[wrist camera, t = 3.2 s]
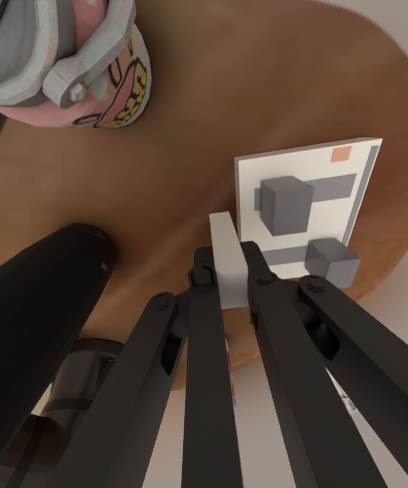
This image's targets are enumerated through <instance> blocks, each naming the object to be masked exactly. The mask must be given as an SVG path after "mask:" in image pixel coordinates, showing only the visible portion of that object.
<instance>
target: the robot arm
mask: <svg viewBox="0 0 408 488" xmlns="http://www.w3.org/2000/svg"><path fill="white" fill-rule="evenodd" d="M209 218H210V227H211V236H212V245H213V246H210V247H202V248H197V250H196V251H195V253H194V267H193V268H192V269H191V270H190V271H189V272H188V279H189V283H190V288H189V289H188V290H187V291H185V292H183V293H181V294H178V295H176V296H174V295H173V294H172V293H169V292H162V293H159V294H156V295H155V296H154V297H152V298H151V300H150V301H149V302H148V304H147V306H146V307H145V309H144V311H143V313H142V315H141V316H140V318H139V320H138V322H137V324H136V325H135V327H134V329H133V331H132V333H131V334H130V336H129V338H128V340H127V342H126V343H125V345H121V344H118V343H115V342H111V341H107V340H98V339H90V340H81V341H77V342H74V344H73V345H72V347H71V349H70V351H69V352H68V354H67V356H66V358H65V359H64V361H63V363H62V365H61V366H60V368H59V370H58V372H57V373H56V375H55V377H54V380H53V384H52V388H51V392H50V396H49V399H48V401H47V403H46V405H45V406H44V408H43V410H42V412H41V414H40V416H37V415H34V414H30V415H29V416H28V418H27V419H26V421H25V422H24V424H23V426H22V427H21V429H20V430H19V432H18V433H17V435H16V436H15V438H14V439H13V441H12V442H11V444H10V445H9V447H8V448H7V450H6V451H5V453H4V454H3V456H2V457H1V459H0V488H142V485H143V482H144V478H145V475H146V471H147V468H148V465H149V462H150V458H151V455H152V452H153V448H154V445H155V441H156V438H157V434H158V431H159V428H160V425H161V421H162V418H163V414H164V411H165V408H166V404H167V401H168V398H169V394H170V391H171V388H172V384H173V381H174V378H175V374H176V371H177V368H178V364H179V361H180V357H181V354H182V351H183V347H184V344H185V341H186V337H187V336H188V356H187V377H186V399H185V419H184V440H183V441H184V442H183V462H182V482H181V488H244V485H243V477H242V469H241V462H240V453H239V447H238V438H237V429H236V421H235V413H234V405H233V397H232V389H231V381H230V373H229V365H228V357H227V349H226V341H225V333H224V325H223V317H222V310H221V309H228V308H237V307H246V306H248V302H249V305H250V324H253V327H254V330H255V334H256V338H257V342H258V345H259V349H260V353H261V357H262V360H263V364H264V368H265V372H266V375H267V379H268V383H269V387H270V390H271V394H272V398H273V402H274V405H275V409H276V413H277V417H278V420H279V424H280V427H281V432H282V436H283V439H284V443H285V447H286V451H287V454H288V458H289V462H290V466H291V469H292V473H293V477H294V481H295V484H296V488H388V487H387V485H386V483H385V481H384V479H383V477H382V475H381V474H380V472H379V470H378V468H377V466H376V464H375V462H374V460H373V458H372V456H371V454H370V452H369V450H368V448H367V447H366V445H365V443H364V441H363V439H362V437H361V435H360V433H359V431H358V429H357V427H356V425H355V423H354V421H353V420H352V418H351V416H350V414H349V412H348V410H347V408H346V406H345V404H344V402H343V400H342V398H341V396H340V394H339V393H338V391H337V389H336V387H335V385H334V383H333V381H332V379H331V377H330V375H329V373H328V371H329V372H330V374H331V375H332V376H333V378H334V379H335V380H336V382H337V383H338V384H339V385H340V387H341V388H342V389H343V391H344V392H345V393H346V395H347V396H348V397H349V399H350V400H351V401H352V403H353V404H354V405H355V406H356V408H357V409H358V410H359V412H360V413H361V414H362V415H363V417H364V418H365V420H366V421H367V422H368V424H369V425H370V426H371V427H372V429H373V430H374V431H375V433H376V434H377V435H378V437H379V438H380V439H381V441H382V442H383V443H384V444H385V446H386V447H387V448H388V450H389V451H390V452H391V454H392V455H393V456H394V458H395V459H396V460H397V461H398V463H399V464H400V466H401V467H402V468H403V469H404V471H405V472H406V473H407V475H408V345H407V344H406V343H405V342H404V341H402V340H401V339H400V338H398V337H397V336H396V335H395V334H394V333H392V332H391V331H390V330H389V329H388V328H386V327H385V326H384V325H383V324H381V323H380V322H379V321H378V320H377V319H375V318H374V317H373V316H371V315H370V314H369V313H368V312H367V311H365V310H364V309H363V308H362V307H360V306H359V305H358V304H357V303H356V302H354V301H353V300H352V299H351V298H349V297H348V296H347V295H346V294H344V293H343V292H342V291H341V290H340V289H338V288H337V287H336V286H335V285H333V284H332V283H331V282H330V281H328V280H327V279H325V278H323V277H321V276H318V275H305V276H303V277H301V278H300V280H299V282H297V281H288V280H283V279H281V278H279V277H278V276H277V275H276V274H275V273H273V272H272V271H271V270H270V268H269V266H268V264H267V262H266V260H265V258H264V256H263V255H262V252H261V251H260V248H259V246H258V244H256V243H255V242H254V241H245V242H239V240H238V237H237V234H236V231H235V229H234V226H233V223H232V220H231V217H230V214H229V211H228V212H221V213H214V214H209ZM326 368H327V369H326ZM327 370H328V371H327Z"/></svg>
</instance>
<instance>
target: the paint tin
mask: <svg viewBox="0 0 408 488" xmlns="http://www.w3.org/2000/svg"><path fill="white" fill-rule="evenodd" d="M136 14H137V13H136V6H135V0H0V112H1V113H2V114H4V115H6V116H7V117H10V118H12V119H15V120H18V121H22V122H25V123H28V124H31V125H34V126H37V127H40V128H120V127H122V126H125V125H127V124H130V123H132V122H133V121H134V120H135V119H136V118H137V117H138V116H139V115H140V114H141V113H142V112H143V110H144V108H145V106H146V103H147V101H148V99H149V95H150V88H151V80H152V77H151V68H150V59H149V55H148V52H147V49H146V46H145V44H144V41H143V38H142V35H141V33H140V32H139V30H138V28H137V26H136V25H135V23H134V21H135V17H136Z"/></svg>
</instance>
